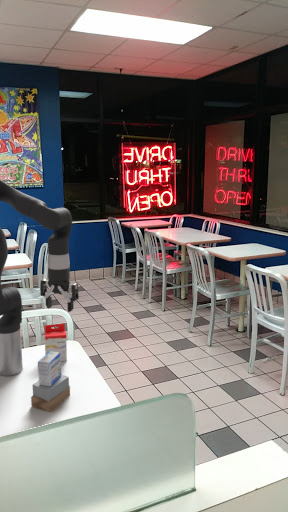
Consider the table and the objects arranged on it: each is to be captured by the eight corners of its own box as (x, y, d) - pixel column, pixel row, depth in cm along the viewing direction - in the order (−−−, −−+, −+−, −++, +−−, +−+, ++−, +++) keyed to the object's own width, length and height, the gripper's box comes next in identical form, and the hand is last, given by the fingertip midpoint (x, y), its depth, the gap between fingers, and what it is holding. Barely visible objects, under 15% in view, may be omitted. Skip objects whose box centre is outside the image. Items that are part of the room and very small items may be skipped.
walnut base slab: (31, 407, 132) (31, 397, 131) (50, 390, 142) (50, 380, 141) (51, 413, 129) (51, 402, 128) (70, 395, 139) (69, 385, 138)
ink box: (45, 363, 160) (44, 329, 157) (45, 357, 165) (44, 325, 161) (67, 360, 162) (66, 327, 159) (66, 355, 167) (65, 323, 164)
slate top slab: (33, 395, 132) (32, 384, 131) (53, 381, 140) (53, 371, 139) (48, 401, 128) (48, 390, 128) (69, 387, 137) (68, 376, 136)
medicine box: (50, 387, 130) (49, 363, 127) (38, 385, 131) (37, 361, 129) (61, 375, 137) (60, 352, 135) (50, 373, 138) (49, 350, 136)
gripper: (34, 265, 136) (36, 310, 140) (71, 270, 132) (71, 316, 136) (47, 261, 143) (48, 303, 147) (82, 265, 139) (82, 309, 142)
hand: (59, 309), depth 141 cm, fingers open, 8 cm apart
